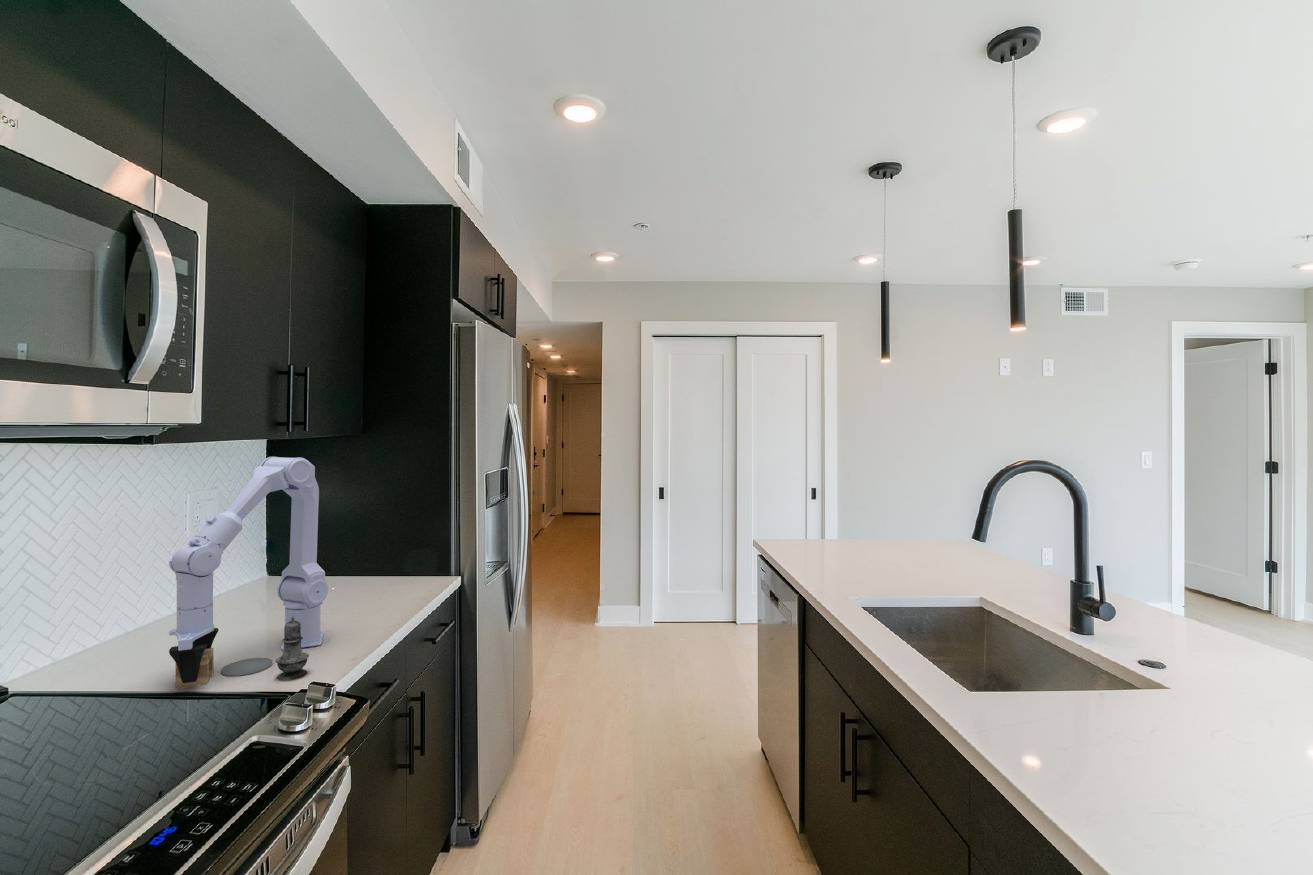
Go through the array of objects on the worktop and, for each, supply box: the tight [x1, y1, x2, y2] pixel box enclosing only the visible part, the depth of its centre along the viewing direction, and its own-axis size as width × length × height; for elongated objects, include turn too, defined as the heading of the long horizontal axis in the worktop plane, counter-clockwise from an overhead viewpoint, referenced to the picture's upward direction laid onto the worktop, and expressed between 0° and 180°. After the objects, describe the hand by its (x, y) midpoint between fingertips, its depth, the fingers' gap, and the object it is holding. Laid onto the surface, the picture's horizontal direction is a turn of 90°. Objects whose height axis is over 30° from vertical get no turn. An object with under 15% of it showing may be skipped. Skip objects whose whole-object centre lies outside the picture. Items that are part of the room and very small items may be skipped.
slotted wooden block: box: [175, 647, 215, 690], centre depth 118 cm, size 5×5×6 cm
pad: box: [220, 657, 274, 677], centre depth 125 cm, size 9×9×1 cm
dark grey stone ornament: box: [275, 617, 310, 681], centre depth 122 cm, size 6×6×12 cm
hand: (195, 674), depth 118 cm, fingers open, 7 cm apart
